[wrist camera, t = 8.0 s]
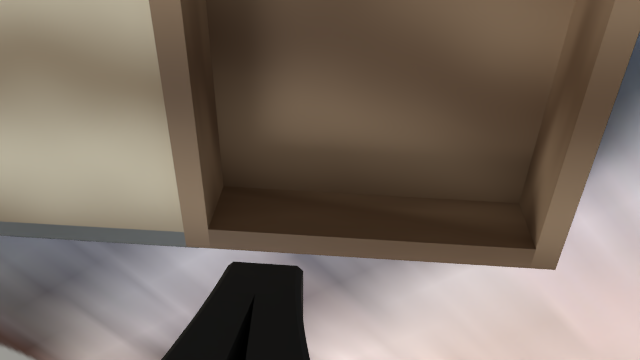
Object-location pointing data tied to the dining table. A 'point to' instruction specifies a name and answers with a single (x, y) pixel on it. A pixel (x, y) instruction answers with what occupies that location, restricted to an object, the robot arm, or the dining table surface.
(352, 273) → the dining table surface
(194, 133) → the walnut box
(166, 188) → the cover plate
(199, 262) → the dining table surface
